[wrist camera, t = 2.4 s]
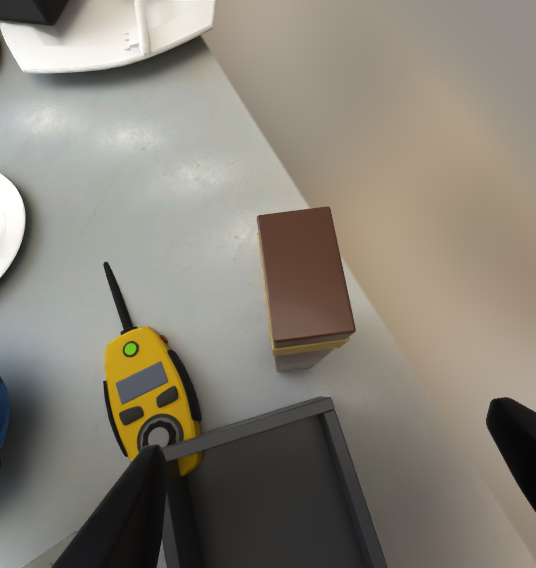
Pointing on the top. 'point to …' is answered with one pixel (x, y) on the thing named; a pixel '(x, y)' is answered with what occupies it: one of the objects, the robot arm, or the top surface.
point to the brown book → (303, 284)
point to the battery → (32, 11)
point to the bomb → (3, 413)
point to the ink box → (51, 554)
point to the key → (138, 31)
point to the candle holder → (10, 223)
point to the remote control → (148, 389)
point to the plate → (104, 34)
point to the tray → (269, 496)
